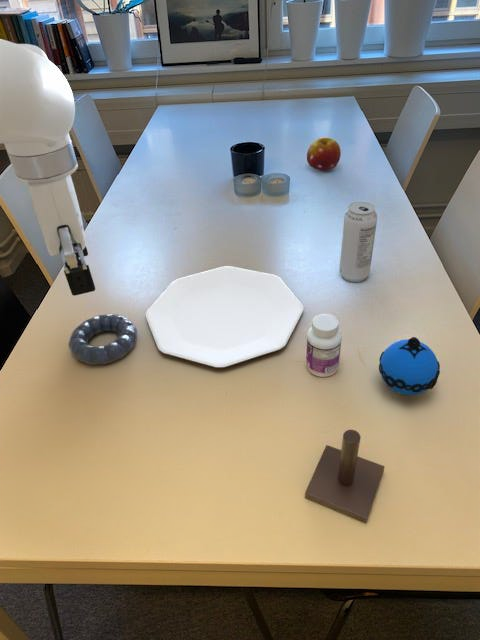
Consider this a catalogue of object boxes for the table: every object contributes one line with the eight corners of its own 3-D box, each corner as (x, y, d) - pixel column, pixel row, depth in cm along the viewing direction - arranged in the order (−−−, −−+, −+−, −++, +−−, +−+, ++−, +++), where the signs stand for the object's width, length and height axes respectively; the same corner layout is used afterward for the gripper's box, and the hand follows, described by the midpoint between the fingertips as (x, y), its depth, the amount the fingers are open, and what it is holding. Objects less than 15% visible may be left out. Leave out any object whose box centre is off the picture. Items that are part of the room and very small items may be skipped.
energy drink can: (353, 263, 102) (361, 196, 93) (375, 276, 99) (385, 208, 89) (332, 274, 100) (338, 206, 90) (354, 287, 96) (362, 218, 86)
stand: (366, 523, 60) (376, 476, 53) (304, 497, 63) (307, 450, 56) (383, 471, 65) (394, 422, 58) (325, 449, 68) (330, 401, 61)
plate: (173, 389, 78) (172, 383, 77) (136, 295, 98) (134, 289, 97) (326, 339, 85) (326, 333, 84) (262, 261, 105) (262, 255, 104)
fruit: (316, 177, 136) (318, 148, 131) (300, 166, 142) (300, 138, 137) (346, 169, 139) (348, 141, 133) (328, 159, 145) (330, 131, 140)
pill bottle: (307, 353, 83) (309, 308, 77) (339, 356, 82) (344, 311, 75) (304, 376, 79) (305, 331, 72) (337, 380, 78) (342, 334, 71)
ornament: (364, 384, 77) (371, 337, 70) (399, 359, 80) (409, 311, 74) (409, 417, 71) (422, 369, 65) (445, 388, 75) (460, 340, 69)
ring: (110, 376, 81) (106, 363, 79) (58, 356, 86) (53, 343, 84) (150, 333, 89) (147, 320, 87) (101, 317, 93) (97, 305, 91)
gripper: (13, 142, 66) (51, 250, 77) (11, 194, 53) (58, 315, 64) (69, 132, 68) (99, 240, 79) (81, 181, 55) (115, 301, 66)
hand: (80, 273), depth 72 cm, fingers open, 9 cm apart
